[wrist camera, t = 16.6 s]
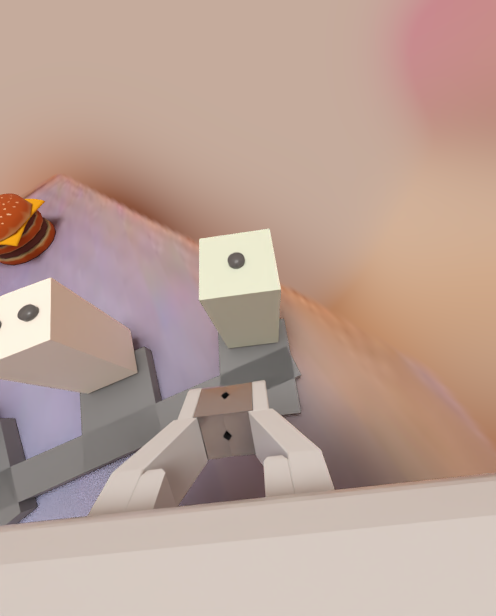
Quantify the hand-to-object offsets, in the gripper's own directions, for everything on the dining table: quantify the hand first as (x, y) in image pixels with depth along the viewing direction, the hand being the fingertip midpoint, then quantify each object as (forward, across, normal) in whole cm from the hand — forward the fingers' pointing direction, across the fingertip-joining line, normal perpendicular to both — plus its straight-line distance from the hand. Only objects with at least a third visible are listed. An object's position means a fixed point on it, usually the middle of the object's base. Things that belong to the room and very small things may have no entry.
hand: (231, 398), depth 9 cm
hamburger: (+30, +32, -10) cm, 45 cm away
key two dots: (+13, +14, +4) cm, 20 cm away
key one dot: (+15, -1, +3) cm, 15 cm away
